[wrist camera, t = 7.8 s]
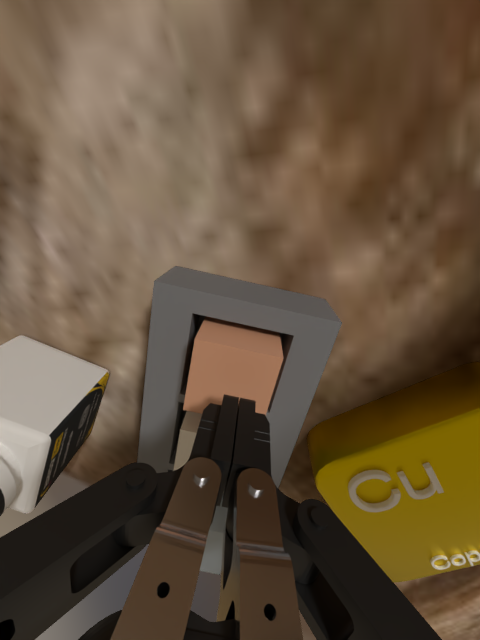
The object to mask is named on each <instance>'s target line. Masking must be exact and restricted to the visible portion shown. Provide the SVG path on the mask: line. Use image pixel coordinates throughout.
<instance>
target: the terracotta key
mask: <svg viewBox="0 0 480 640" xmlns="http://www.w3.org/2000/svg"><path fill="white" fill-rule="evenodd" d="M282 362H283V351H282V345H281V339H280V333H279V332H276V331H271V330H267V329H262V328H257V327H253V326H248V325H244V324H239V323H235V322H230V321H226V320H221V319H217V318H212V317H207V316H206V317H205V319H204V321H203V323H202V325H201V327H200V329H199V331H198V333H197V335H196V337H195V340H194V346H193V352H192V358H191V364H190V370H189V376H188V382H187V388H186V395H185V401H184V407H183V410H186V411H191V412H196V413H200V414H202V413H203V410H204V409H205V408H206V407H207V406H208V405H209V404H210V403H213V404H217V405H222V401H223V396H224V394H226V395H231V396H235V397H239V400H240V398H245V399H250V400H255V401H256V408H255V412H256V413H260V414H265V416H266V413H267V409H268V406H269V403H270V400H271V397H272V393H273V390H274V387H275V384H276V381H277V377H278V374H279V371H280V368H281V365H282ZM238 404H239V402H238Z"/></svg>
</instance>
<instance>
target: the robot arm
mask: <svg viewBox="0 0 480 640" xmlns="http://www.w3.org/2000/svg"><path fill="white" fill-rule="evenodd" d="M238 402H239V404H238ZM255 408H256V401H255V400H250V399H245V398H240V400H239V397H235V396H231V395H226V394H224V396H223V401H222V405H217V404H213V403H210V404H209V405H208V406H207V407H206V408H205V409H204V410H203V413H202V417H201V420H200V423H199V427H198V430H197V434H196V437H195V441H194V444H193V447H192V451H191V454H190V457H189V459H188V461H187V462H186V464H185V465H183V466H182V467H181V468H179V469H177V470H174V471H171V472H163V473H156V471H155V469H154V468H153V467H152V466H150V465H149V464H146V463H141V462H138V463H132V464H129V465H127V466H125V467H123V468H121V469H119V470H118V471H116V472H114V473H112V474H111V475H109V476H107V477H105V478H104V479H102V480H100V481H98V482H97V483H95V484H93V485H91V486H90V487H88V488H86V489H85V490H83V491H81V492H79V493H77V494H76V495H74V496H72V497H70V498H69V499H67V500H65V501H64V502H62V503H60V504H58V505H57V506H55V507H53V508H51V509H50V510H48V511H46V512H44V513H43V514H41V515H39V516H37V517H36V518H34V519H32V520H30V521H29V522H27V523H25V524H24V525H22V526H20V527H18V528H16V529H15V530H13V531H11V532H9V533H8V534H6V535H4V536H2V537H1V538H0V640H35V639H36V638H37V637H38V636H39V635H40V634H42V633H43V632H44V631H45V630H46V629H48V628H49V627H50V626H51V625H52V624H54V623H55V622H56V621H57V620H58V619H60V618H61V617H62V616H63V615H64V614H66V613H67V612H68V611H69V610H70V609H71V608H73V607H74V606H75V605H76V604H77V603H79V602H80V601H81V600H82V599H84V598H85V597H86V596H87V595H88V594H90V593H91V592H92V591H93V590H94V589H95V588H97V587H98V586H99V585H100V584H101V583H103V582H104V581H105V580H106V579H107V578H109V577H110V576H111V575H112V574H113V573H115V572H116V571H117V570H118V569H119V568H121V567H122V566H123V565H124V564H125V563H127V562H128V561H129V560H130V559H131V558H133V557H134V556H135V555H136V554H137V553H139V552H140V551H141V550H142V549H143V548H144V547H145V546H146V544H149V546H148V549H147V551H146V553H145V556H144V558H143V561H142V563H141V566H140V568H139V571H138V573H137V576H136V578H135V580H134V583H133V585H132V588H131V590H130V593H129V595H128V598H127V600H126V602H125V605H124V607H123V610H120V611H118V612H116V613H114V614H111V615H109V616H108V617H106V618H104V619H103V620H101V621H100V622H98V623H97V624H96V625H94V626H93V627H92V628H90V629H89V630H88V631H87V632H86V633H85V634H84V635H82V636H81V637H80V639H78V640H303V635H302V629H301V622H300V614H299V610H300V612H301V614H302V615H303V617H304V619H305V620H306V622H307V624H308V626H309V627H310V629H311V631H312V632H313V634H314V636H315V637H316V639H317V640H442V639H441V638H440V637H439V636H438V635H437V633H436V632H435V631H434V630H433V629H432V627H431V626H430V625H429V624H428V623H427V622H426V620H425V619H424V618H423V617H422V616H421V615H420V613H419V612H418V611H417V610H416V609H415V607H414V606H413V605H412V604H411V603H410V602H409V600H408V599H407V598H406V597H405V596H404V595H403V593H402V592H401V591H400V590H399V589H398V588H397V586H396V585H395V584H394V583H393V582H392V580H391V579H390V578H389V577H388V576H387V575H386V573H385V572H384V571H383V570H382V569H381V568H380V566H379V565H378V564H377V563H376V562H375V560H374V559H373V558H372V557H371V556H370V555H369V553H368V552H367V551H366V550H365V549H364V548H363V546H362V545H361V544H360V543H359V542H358V540H357V539H356V538H355V537H354V536H353V535H352V533H351V532H350V531H349V530H348V529H347V528H346V526H345V525H344V524H343V523H342V522H341V521H340V519H339V518H338V517H337V516H336V515H335V513H334V512H333V511H332V510H331V509H330V508H329V507H328V506H327V505H325V504H324V503H322V502H320V501H318V500H314V499H308V500H305V501H303V502H302V503H301V504H300V503H298V502H296V501H294V500H293V499H291V498H289V497H287V496H286V495H284V494H283V493H282V492H281V491H280V490H279V489H278V488H277V487H276V485H275V483H274V481H273V479H272V475H271V450H270V423H269V421H268V419H267V418H266V416H265V414H260V413H256V412H255ZM223 492H224V493H223ZM222 496H223V500H222ZM221 500H222V507H226V508H228V509H227V518H226V522H225V526H224V531H223V548H222V567H221V586H220V587H221V589H220V599H219V606H218V612H217V621H216V622H209V621H207V620H205V619H203V618H202V617H201V616H199V615H197V614H196V613H194V612H192V611H191V610H190V608H191V604H192V600H193V596H194V592H195V587H196V583H197V579H198V575H199V571H200V567H201V562H202V558H203V554H204V550H205V546H206V541H207V537H208V533H209V528H210V526H211V524H212V522H213V518H214V514H215V510H216V506H220V504H221Z"/></svg>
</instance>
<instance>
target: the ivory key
mask: <svg viewBox="0 0 480 640" xmlns="http://www.w3.org/2000/svg"><path fill="white" fill-rule="evenodd" d="M201 417H202V414H200V413H196V412H191V411H187V412H186V414H185V417H184V420H183V423H182V426H181V429H180V434H179V440H178V446H177V452H176V458H175V464H174V470H177V469H179V468H181V467H182V466H183V465H185V464H186V462H187V461H188V459H189V457H190V454H191V451H192V447H193V444H194V441H195V437H196V434H197V430H198V427H199V423H200V420H201ZM174 470H173V471H174ZM223 493H224V492H223Z"/></svg>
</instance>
